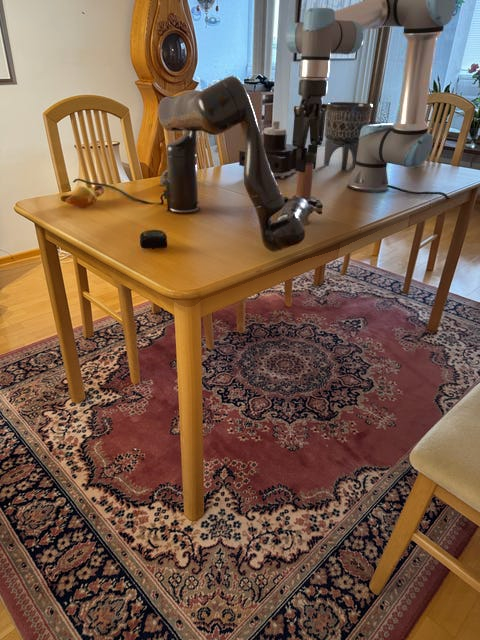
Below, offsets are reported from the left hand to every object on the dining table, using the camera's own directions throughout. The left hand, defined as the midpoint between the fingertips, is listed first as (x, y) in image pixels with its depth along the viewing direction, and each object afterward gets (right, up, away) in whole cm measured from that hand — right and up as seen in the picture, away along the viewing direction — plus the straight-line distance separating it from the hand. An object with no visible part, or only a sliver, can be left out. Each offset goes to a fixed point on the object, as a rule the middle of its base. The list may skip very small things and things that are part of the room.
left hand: (303, 198), depth 138 cm
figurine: (+65, +37, +79) cm, 109 cm away
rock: (-44, +16, +39) cm, 60 cm away
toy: (-71, +2, +13) cm, 72 cm away
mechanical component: (-2, +27, +59) cm, 64 cm away
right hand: (-1, +7, -7) cm, 9 cm away
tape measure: (-41, -18, -20) cm, 50 cm away
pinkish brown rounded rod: (-1, -7, +1) cm, 7 cm away
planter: (+28, +34, +73) cm, 85 cm away
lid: (0, +10, -9) cm, 14 cm away
